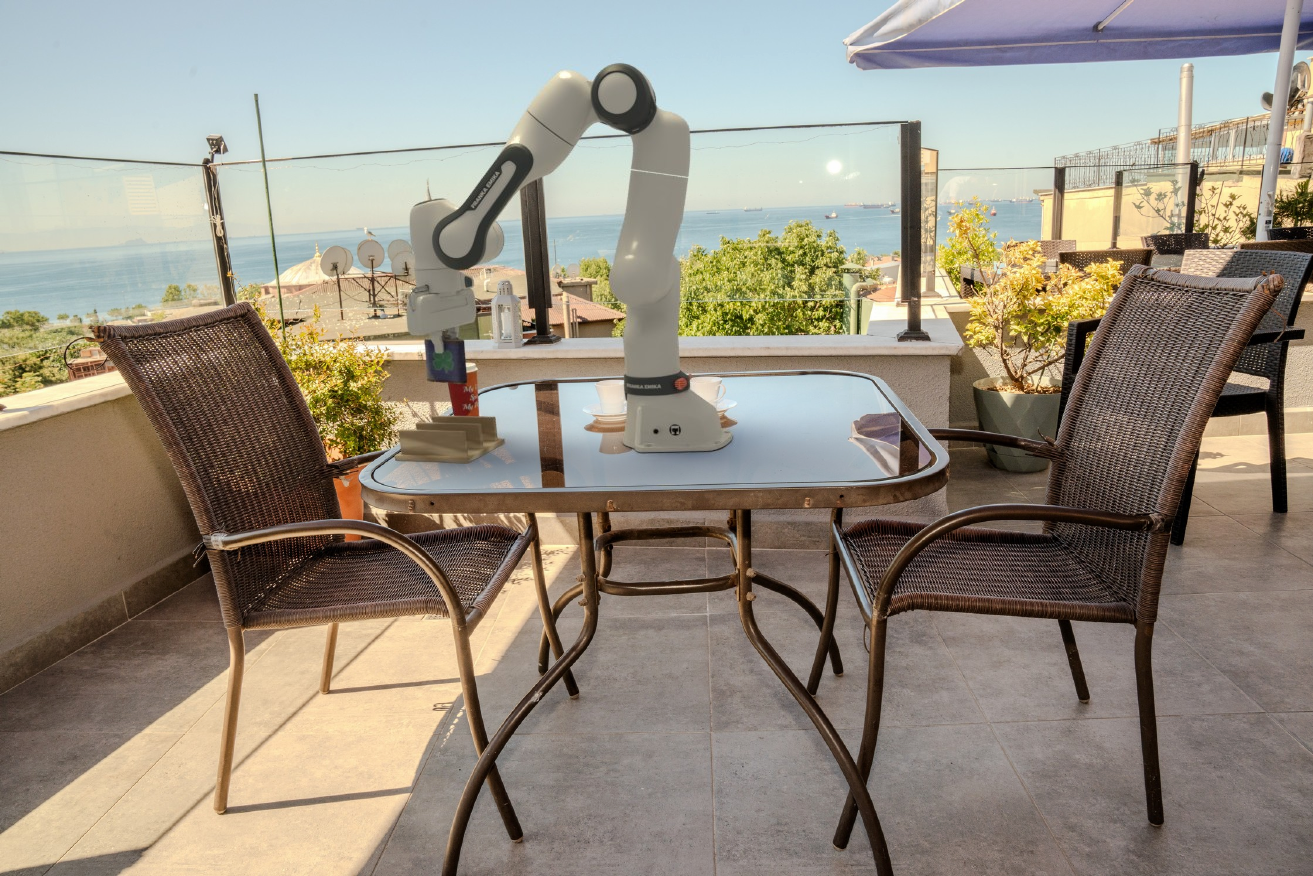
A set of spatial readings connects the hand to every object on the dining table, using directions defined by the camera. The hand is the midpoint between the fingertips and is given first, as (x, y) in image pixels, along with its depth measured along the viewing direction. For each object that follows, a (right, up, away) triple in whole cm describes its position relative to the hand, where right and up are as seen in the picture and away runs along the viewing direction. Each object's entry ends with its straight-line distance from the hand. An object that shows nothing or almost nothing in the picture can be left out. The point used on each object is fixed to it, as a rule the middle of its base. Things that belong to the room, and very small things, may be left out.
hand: (446, 350), depth 178 cm
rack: (0, -21, +2) cm, 21 cm away
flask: (0, -6, +2) cm, 7 cm away
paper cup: (-1, -15, +27) cm, 31 cm away
